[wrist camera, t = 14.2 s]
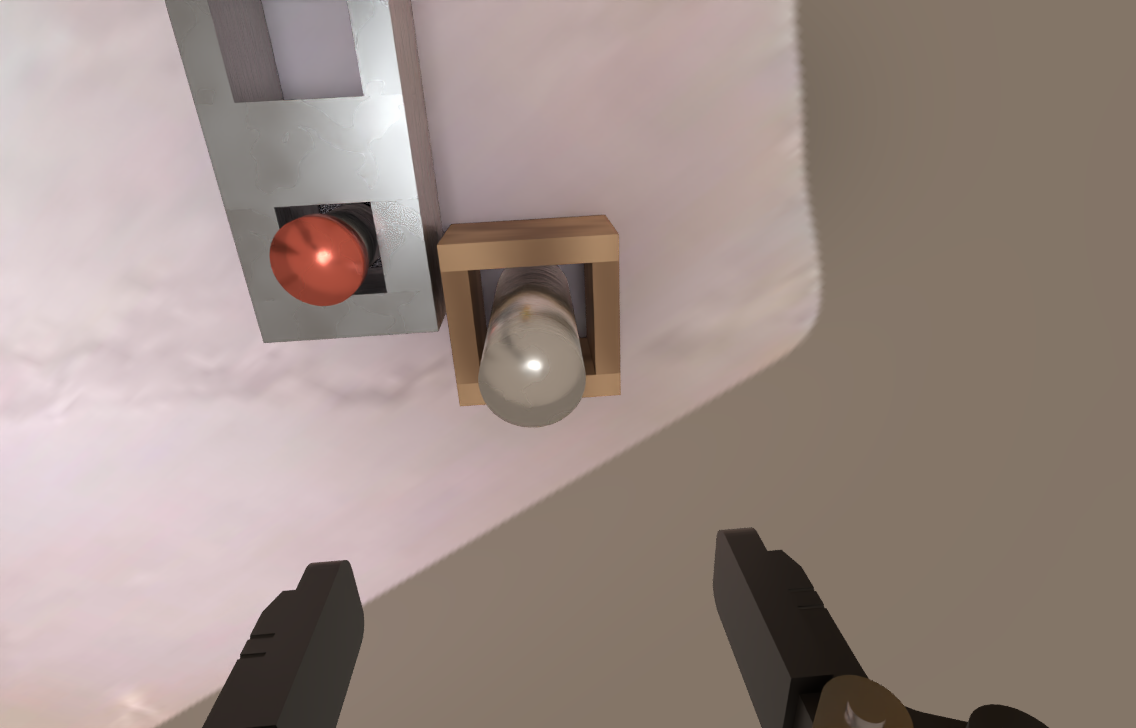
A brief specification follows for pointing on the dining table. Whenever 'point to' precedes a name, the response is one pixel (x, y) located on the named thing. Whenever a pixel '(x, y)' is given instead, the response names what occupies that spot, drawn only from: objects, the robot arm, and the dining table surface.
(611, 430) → the dining table surface
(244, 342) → the dining table surface
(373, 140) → the socket block
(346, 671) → the robot arm
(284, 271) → the copper-capped cylinder
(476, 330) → the wooden hollow square frame
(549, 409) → the gray round-topped cylinder
